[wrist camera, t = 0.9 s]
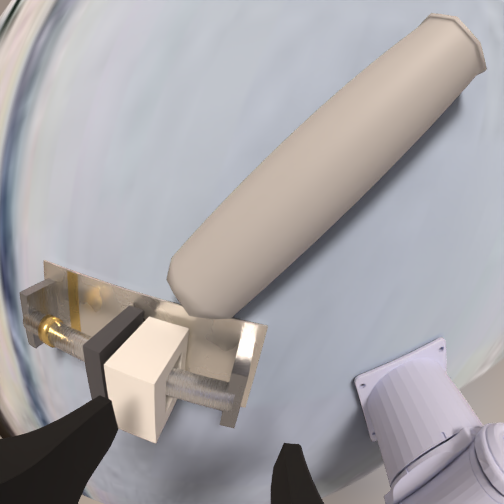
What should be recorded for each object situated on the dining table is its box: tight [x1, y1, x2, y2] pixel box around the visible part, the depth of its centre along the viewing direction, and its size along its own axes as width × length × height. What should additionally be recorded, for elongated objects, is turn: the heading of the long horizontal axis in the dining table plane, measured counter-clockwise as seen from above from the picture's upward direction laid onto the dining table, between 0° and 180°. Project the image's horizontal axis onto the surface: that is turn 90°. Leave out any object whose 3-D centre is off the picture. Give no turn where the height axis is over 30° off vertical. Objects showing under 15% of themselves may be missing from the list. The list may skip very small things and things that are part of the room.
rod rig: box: [20, 260, 268, 428], centre depth 17 cm, size 20×8×5 cm, turn 79°
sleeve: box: [104, 317, 189, 443], centre depth 16 cm, size 3×6×6 cm, turn 168°
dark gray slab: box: [82, 305, 144, 400], centre depth 16 cm, size 1×6×6 cm, turn 169°
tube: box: [167, 13, 487, 319], centre depth 13 cm, size 5×5×25 cm
